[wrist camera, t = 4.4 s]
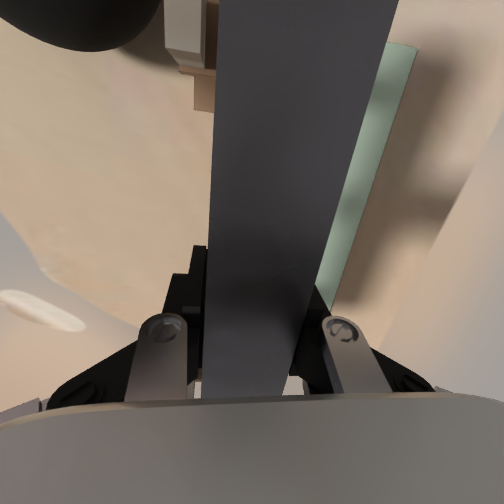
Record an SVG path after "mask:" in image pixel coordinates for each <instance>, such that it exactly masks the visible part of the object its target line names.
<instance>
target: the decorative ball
mask: <svg viewBox="0 0 504 504" xmlns="http://www.w3.org/2000/svg"><path fill="white" fill-rule="evenodd" d="M159 2H160V0H0V17H1V18H2V19H4V20H5V21H7V22H8V23H10V24H11V25H13V26H14V27H16V28H18V29H19V30H21V31H23V32H25V33H27V34H29V35H30V36H32V37H35V38H37V39H39V40H41V41H43V42H46V43H49V44H52V45H54V46H57V47H61V48H65V49H69V50H74V51H82V52H99V51H106V50H110V49H114V48H117V47H119V46H122V45H124V44H126V43H127V42H129V41H131V40H132V39H133V38H135V37H136V36H137V35H138V34H139V33H140V32H141V31H142V30H143V29H144V28H145V27H146V26H147V25H148V23H149V22H150V20H151V19H152V17H153V15H154V13H155V12H156V10H157V7H158V5H159Z"/></svg>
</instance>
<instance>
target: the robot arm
mask: <svg viewBox="0 0 504 504" xmlns="http://www.w3.org/2000/svg"><path fill="white" fill-rule="evenodd" d="M207 256H208V249H206V246H199V245H194V246H193V252H192V257H191V262H190V268H189V273H188V274H176V273H173V275H172V278H171V282H170V285H169V289H168V293H167V296H166V300H165V303H164V307H163V311H162V313H161V314H157V315H154V316H152V317H150V318H149V319H147V320H146V321H145V322H144V323H143V324H142V326H141V328H140V331H139V335H138V340H137V341H135V342H133V343H131V344H130V345H128V346H126V347H125V348H123V349H121V350H119V351H118V352H116V353H114V354H113V355H111V356H109V357H108V358H106V359H104V360H103V361H101V362H99V363H97V364H96V365H94V366H92V367H91V368H89V369H87V370H86V371H84V372H82V373H80V374H79V375H77V376H75V377H74V378H72V379H70V380H69V381H67V382H66V383H64V384H63V385H62V386H60V387H59V388H58V389H57V390H56V391H55V392H54V393H53V394H52V396H51V397H50V398H48V399H45V400H43V401H40V399H39V398H36V399H34V400H31V401H29V402H26V403H23V404H21V405H18V406H16V407H13V408H11V409H8V410H6V411H3V412H0V504H504V402H501V401H498V400H494V399H490V398H485V397H480V396H475V395H468V394H460V393H453V392H450V391H447V390H445V389H442V388H439V387H437V386H435V387H434V389H433V388H432V387H431V385H430V384H429V383H428V382H427V381H426V380H425V379H424V378H422V377H420V376H419V375H418V374H416V373H414V372H413V371H411V370H409V369H408V368H406V367H404V366H402V365H401V364H398V363H397V362H395V361H393V360H392V359H390V358H388V357H386V356H385V355H383V354H381V353H379V352H378V351H376V350H374V349H372V348H371V347H370V346H369V344H368V343H367V341H366V339H365V337H364V335H363V333H362V331H361V330H360V328H359V327H358V326H357V325H356V324H355V323H354V322H352V321H350V320H349V319H346V318H344V317H340V316H332V315H331V313H330V311H329V309H328V307H327V306H326V304H325V302H324V300H323V298H322V296H321V294H320V292H319V291H318V289H317V287H316V285H314V289H313V292H312V295H311V299H310V302H309V305H308V309H307V312H306V316H305V319H304V322H303V326H302V329H301V332H300V336H299V339H298V343H297V346H296V349H295V353H294V356H293V360H292V363H291V366H290V370H289V376H299V377H300V378H302V379H303V389H304V395H283V396H253V397H225V398H198V399H187V386H188V385H189V384H190V383H191V382H192V381H194V380H195V379H196V378H198V369H199V368H202V363H203V341H204V320H205V298H206V277H207Z"/></svg>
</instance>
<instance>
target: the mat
mask: <svg viewBox="0 0 504 504" xmlns="http://www.w3.org/2000/svg"><path fill="white" fill-rule="evenodd" d="M417 49H418V48H415V47H410V46H405V45H400V44H395V43H390V42H386V45H385V49H384V52H383V55H382V59H381V62H380V65H379V69H378V72H377V76H376V79H375V82H374V86H373V89H372V93H371V96H370V99H369V103H368V106H367V109H366V113H365V116H364V120H363V123H362V126H361V130H360V133H359V136H358V140H357V143H356V147H355V150H354V153H353V157H352V160H351V163H350V167H349V170H348V174H347V177H346V180H345V184H344V187H343V191H342V194H341V197H340V201H339V204H338V207H337V211H336V214H335V218H334V221H333V224H332V228H331V231H330V234H329V238H328V241H327V245H326V248H325V251H324V255H323V258H322V262H321V265H320V268H319V272H318V275H317V278H316V282H315V285H316V287H317V289H318V291H319V292H320V294H321V296H322V298H323V300H324V302H325V304H326V306H327V307H328V309H329V311H330V309H331V306H332V303H333V300H334V298H335V295H336V292H337V289H338V286H339V283H340V280H341V277H342V274H343V271H344V268H345V265H346V262H347V259H348V256H349V253H350V250H351V247H352V244H353V241H354V238H355V235H356V232H357V229H358V226H359V223H360V220H361V217H362V214H363V211H364V208H365V205H366V202H367V199H368V196H369V193H370V190H371V187H372V184H373V181H374V178H375V175H376V172H377V169H378V166H379V163H380V160H381V157H382V154H383V151H384V148H385V145H386V142H387V139H388V136H389V133H390V130H391V127H392V124H393V121H394V118H395V115H396V112H397V109H398V106H399V103H400V100H401V97H402V94H403V91H404V88H405V85H406V82H407V79H408V76H409V73H410V70H411V67H412V64H413V61H414V58H415V55H416V52H417Z"/></svg>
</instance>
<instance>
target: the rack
mask: <svg viewBox="0 0 504 504" xmlns="http://www.w3.org/2000/svg"><path fill="white" fill-rule="evenodd" d="M218 20H219V0H164V25H165V48H166V49H167V51H168V52H169V53H170V54H171V56H172V57H173V58H174V59H175V61H176V62H177V63H178V64H179V72H180V73H181V74H185V75H191V76H194V110H198V111H205V112H212V113H214V106H215V85H216V63H217V42H218ZM195 382H202V368H199V369H198V378H196V379H195V380H194V381H192V382H191V383H190V384H189V385H188V386H187V399H194V389H195Z"/></svg>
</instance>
